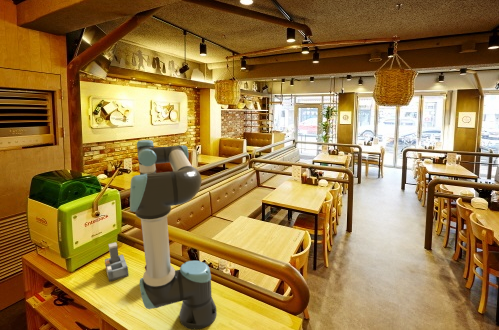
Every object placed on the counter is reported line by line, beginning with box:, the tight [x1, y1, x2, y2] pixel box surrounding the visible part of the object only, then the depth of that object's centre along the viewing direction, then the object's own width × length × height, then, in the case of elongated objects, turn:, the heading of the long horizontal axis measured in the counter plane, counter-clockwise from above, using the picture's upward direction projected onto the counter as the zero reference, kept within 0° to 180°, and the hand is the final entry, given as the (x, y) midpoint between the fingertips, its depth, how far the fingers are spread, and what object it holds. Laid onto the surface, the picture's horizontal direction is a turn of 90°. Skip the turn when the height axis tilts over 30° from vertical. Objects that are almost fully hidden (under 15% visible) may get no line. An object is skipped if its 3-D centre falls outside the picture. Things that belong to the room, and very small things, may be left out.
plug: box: [108, 241, 119, 264], centre depth 150 cm, size 4×4×13 cm
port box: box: [104, 254, 130, 283], centre depth 148 cm, size 14×9×5 cm, turn 33°
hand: (151, 211), depth 146 cm, fingers open, 13 cm apart
